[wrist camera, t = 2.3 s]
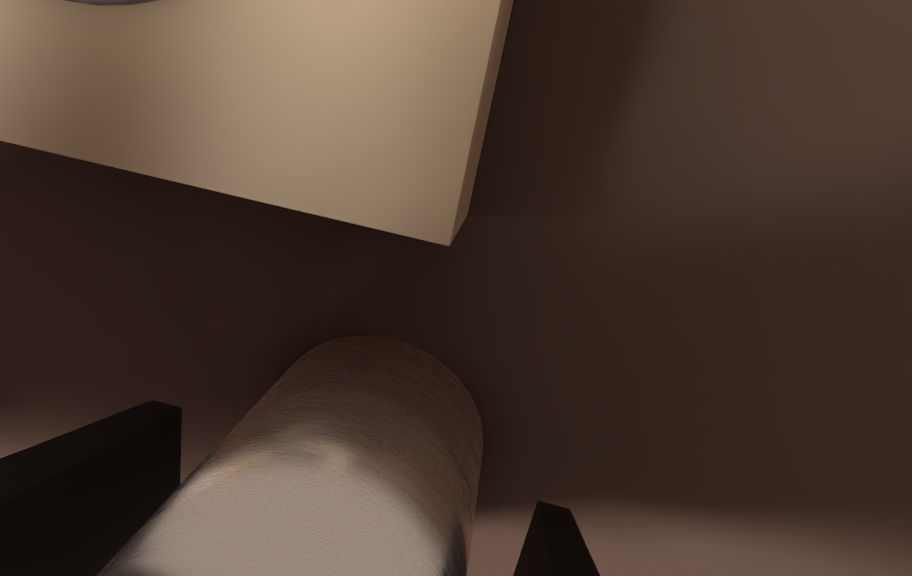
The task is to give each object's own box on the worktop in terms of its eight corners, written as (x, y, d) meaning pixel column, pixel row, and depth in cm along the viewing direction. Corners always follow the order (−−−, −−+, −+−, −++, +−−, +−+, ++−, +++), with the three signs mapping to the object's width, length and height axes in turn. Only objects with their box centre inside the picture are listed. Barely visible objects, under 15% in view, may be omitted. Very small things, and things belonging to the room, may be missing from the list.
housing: (266, 490, 13) (-3, 880, 6) (283, 311, 11) (-59, 589, 5) (458, 542, 13) (386, 1003, 6) (506, 366, 11) (477, 743, 4)
